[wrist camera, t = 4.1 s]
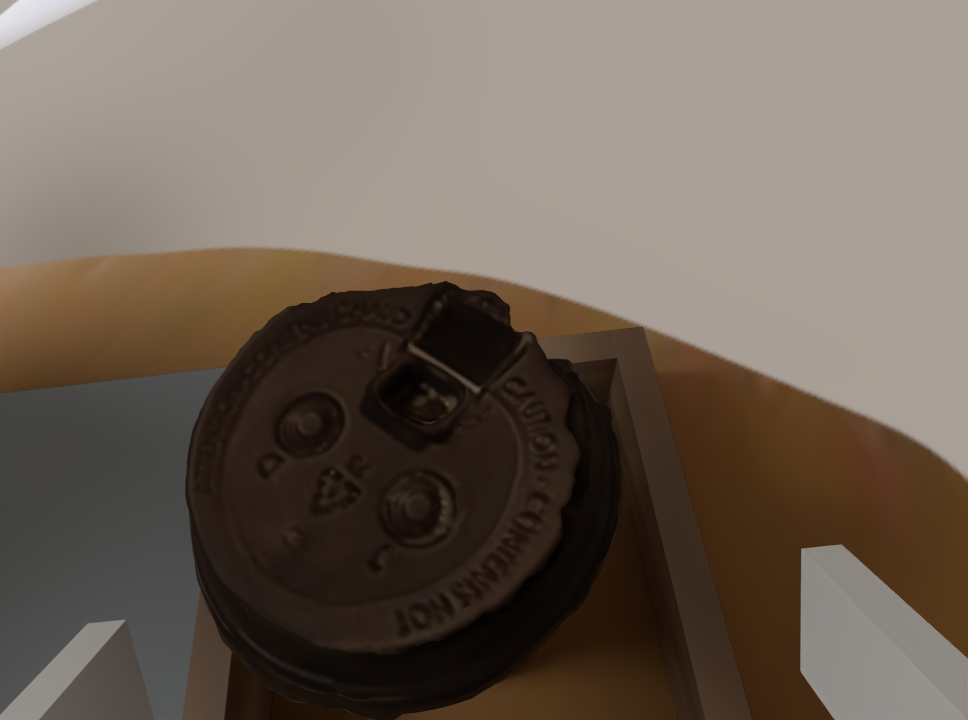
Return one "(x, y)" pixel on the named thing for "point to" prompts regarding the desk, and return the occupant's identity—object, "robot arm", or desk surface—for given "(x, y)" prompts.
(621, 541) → the desk surface
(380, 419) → the coffee cup
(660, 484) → the square frame
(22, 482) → the mat
